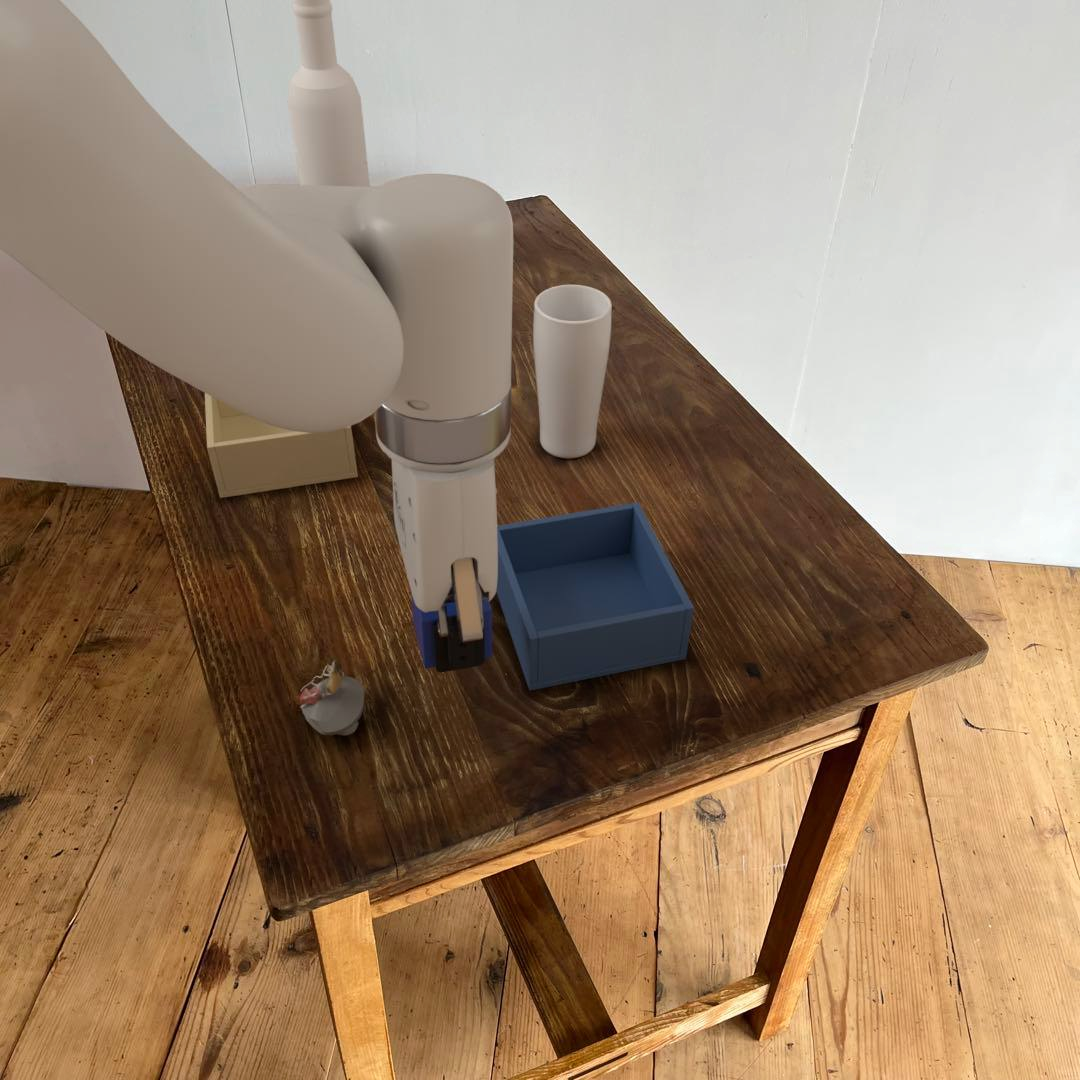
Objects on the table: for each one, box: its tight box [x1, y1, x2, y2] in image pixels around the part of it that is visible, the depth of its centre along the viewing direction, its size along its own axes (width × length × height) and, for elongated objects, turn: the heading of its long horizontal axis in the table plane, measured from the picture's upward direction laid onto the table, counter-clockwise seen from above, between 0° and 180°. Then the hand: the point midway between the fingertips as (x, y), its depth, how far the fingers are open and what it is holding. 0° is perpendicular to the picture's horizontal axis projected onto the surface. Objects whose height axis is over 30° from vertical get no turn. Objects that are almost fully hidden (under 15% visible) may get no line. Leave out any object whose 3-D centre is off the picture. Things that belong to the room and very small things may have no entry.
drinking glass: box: [532, 284, 613, 460], centre depth 91 cm, size 7×7×15 cm
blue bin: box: [496, 501, 695, 691], centre depth 78 cm, size 12×12×6 cm
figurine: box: [299, 658, 365, 736], centre depth 70 cm, size 5×4×6 cm
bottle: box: [287, 0, 371, 186], centre depth 112 cm, size 8×8×30 cm
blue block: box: [410, 584, 493, 670], centre depth 67 cm, size 4×4×4 cm
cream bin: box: [204, 393, 359, 499], centre depth 93 cm, size 12×12×6 cm
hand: (451, 634), depth 68 cm, fingers closed on blue block, 4 cm apart
